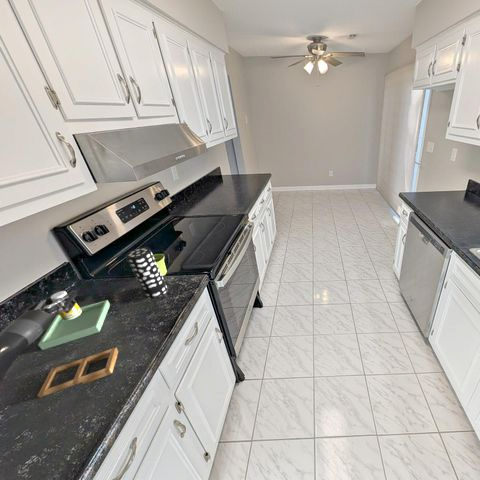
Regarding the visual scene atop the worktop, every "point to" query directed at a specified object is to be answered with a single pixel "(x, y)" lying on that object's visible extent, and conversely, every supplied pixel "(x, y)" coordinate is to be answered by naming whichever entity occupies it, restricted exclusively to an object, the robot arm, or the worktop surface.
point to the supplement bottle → (60, 295)
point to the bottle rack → (81, 371)
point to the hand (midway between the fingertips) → (65, 293)
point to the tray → (75, 325)
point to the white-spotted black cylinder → (147, 272)
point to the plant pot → (160, 263)
